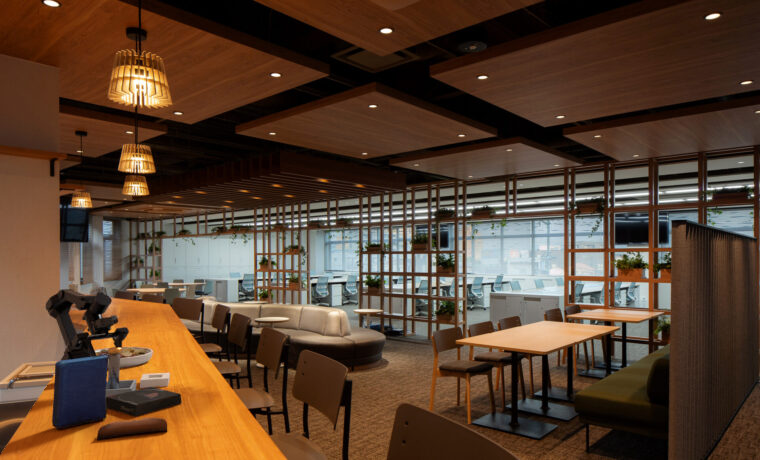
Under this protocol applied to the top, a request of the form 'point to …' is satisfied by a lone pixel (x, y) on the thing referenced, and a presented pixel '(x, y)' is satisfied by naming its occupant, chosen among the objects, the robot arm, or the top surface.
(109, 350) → the pin
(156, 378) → the pin socket block
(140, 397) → the portable cd player
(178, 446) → the top surface
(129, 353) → the bowl
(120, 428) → the sunglasses case
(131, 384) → the pin tray
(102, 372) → the book
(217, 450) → the top surface
